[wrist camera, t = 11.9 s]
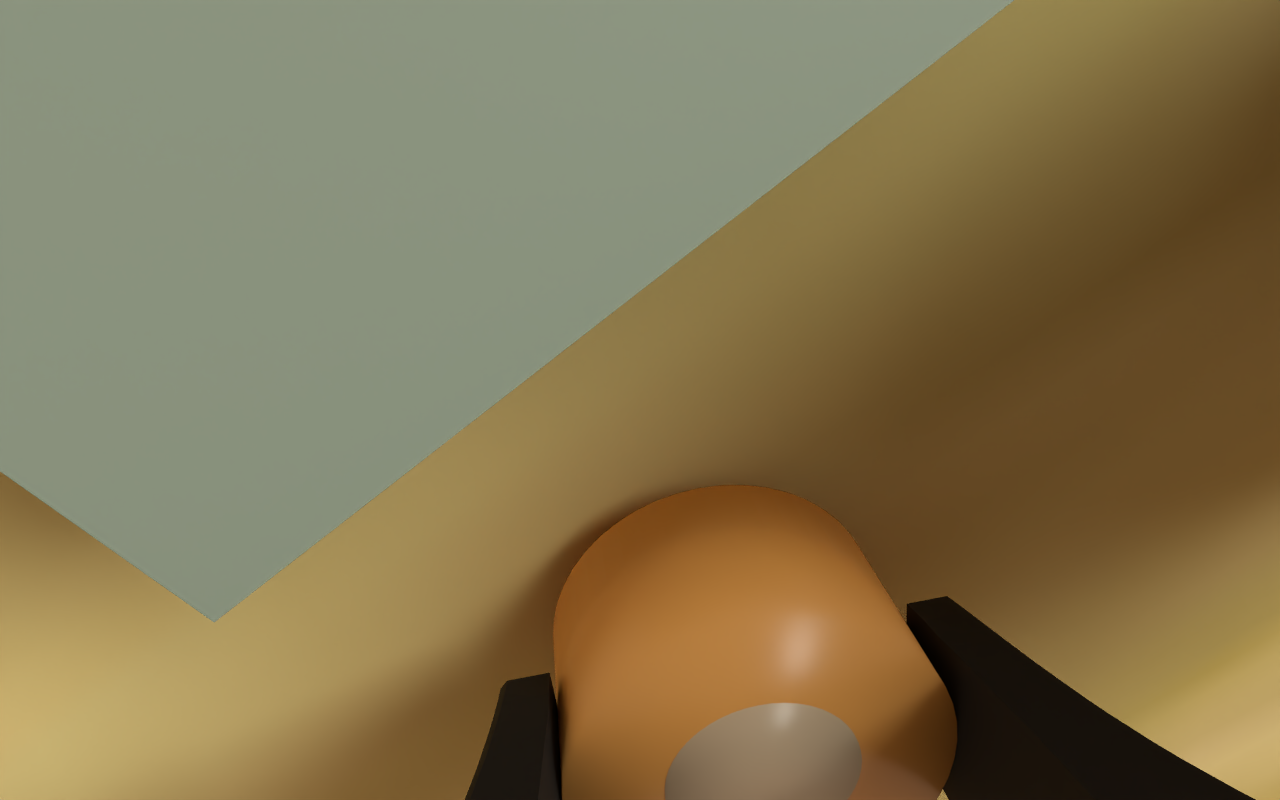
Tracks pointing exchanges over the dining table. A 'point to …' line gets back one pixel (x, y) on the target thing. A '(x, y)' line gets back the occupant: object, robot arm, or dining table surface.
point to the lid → (362, 229)
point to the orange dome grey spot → (741, 661)
